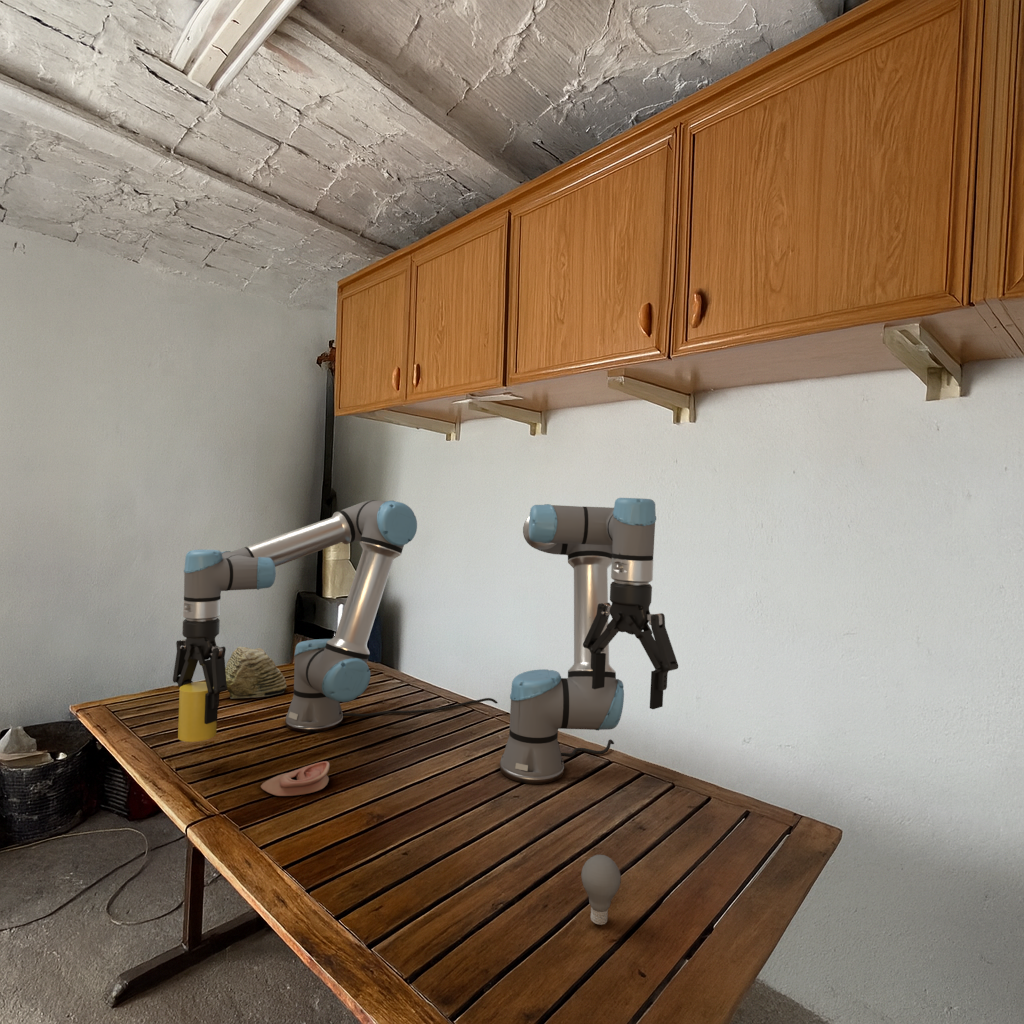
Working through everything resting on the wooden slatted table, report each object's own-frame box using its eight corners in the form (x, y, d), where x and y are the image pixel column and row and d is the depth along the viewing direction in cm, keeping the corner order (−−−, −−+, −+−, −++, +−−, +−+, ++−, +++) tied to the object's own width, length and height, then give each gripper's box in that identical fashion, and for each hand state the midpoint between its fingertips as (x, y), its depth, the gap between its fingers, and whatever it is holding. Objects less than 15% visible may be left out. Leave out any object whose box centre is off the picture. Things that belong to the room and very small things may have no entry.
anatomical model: (253, 773, 134) (283, 753, 145) (252, 792, 134) (282, 770, 145) (310, 782, 131) (336, 760, 142) (309, 801, 131) (335, 777, 143)
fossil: (218, 695, 195) (220, 647, 195) (278, 685, 208) (279, 640, 207) (228, 703, 189) (230, 653, 188) (289, 692, 201) (290, 645, 201)
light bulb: (576, 909, 100) (578, 846, 100) (613, 909, 101) (616, 846, 100) (583, 935, 94) (586, 869, 94) (622, 935, 95) (626, 868, 94)
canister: (220, 728, 148) (222, 681, 148) (210, 741, 140) (212, 691, 140) (184, 729, 147) (186, 681, 147) (172, 742, 139) (174, 692, 139)
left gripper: (156, 615, 145) (153, 714, 145) (218, 626, 135) (214, 732, 136) (186, 610, 151) (183, 705, 152) (247, 621, 142) (243, 722, 142)
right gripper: (568, 574, 123) (563, 683, 123) (676, 592, 104) (670, 721, 104) (594, 573, 128) (589, 677, 128) (702, 590, 109) (696, 712, 109)
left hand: (198, 718), depth 144 cm, fingers closed on canister, 8 cm apart
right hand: (625, 697), depth 116 cm, fingers open, 13 cm apart
